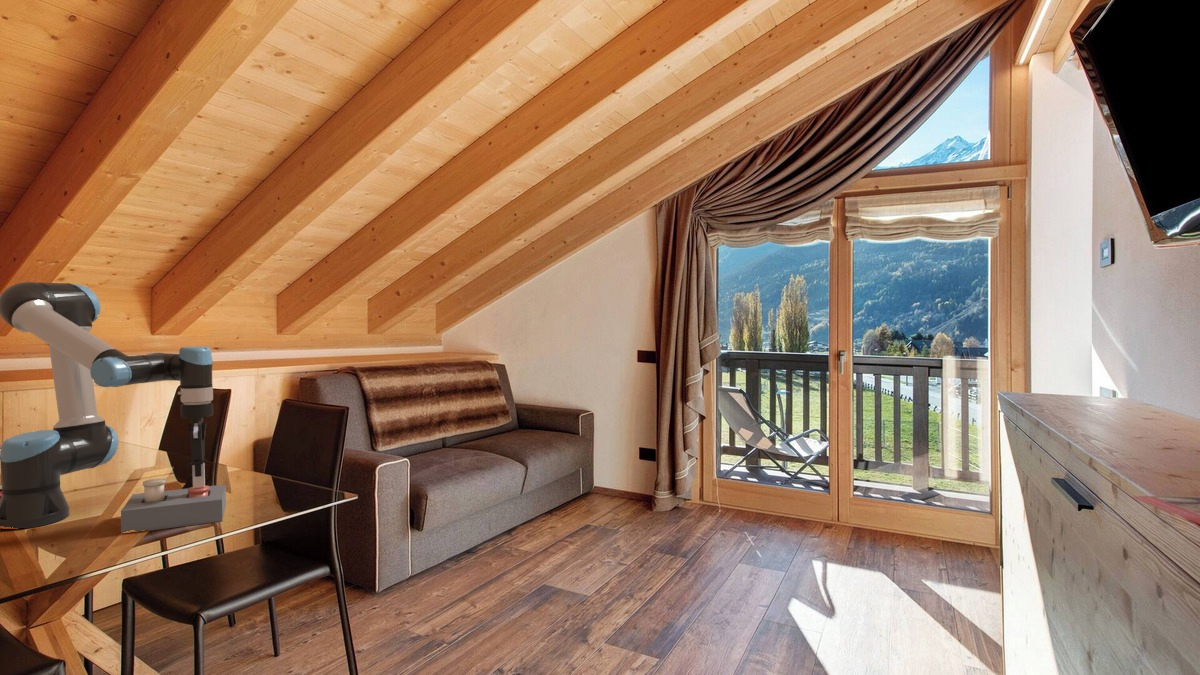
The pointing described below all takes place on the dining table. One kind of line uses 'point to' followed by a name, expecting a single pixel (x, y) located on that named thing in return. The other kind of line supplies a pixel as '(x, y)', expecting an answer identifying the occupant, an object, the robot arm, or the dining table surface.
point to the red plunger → (198, 491)
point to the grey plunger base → (173, 510)
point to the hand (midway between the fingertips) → (198, 487)
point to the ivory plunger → (154, 490)
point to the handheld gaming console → (190, 483)
